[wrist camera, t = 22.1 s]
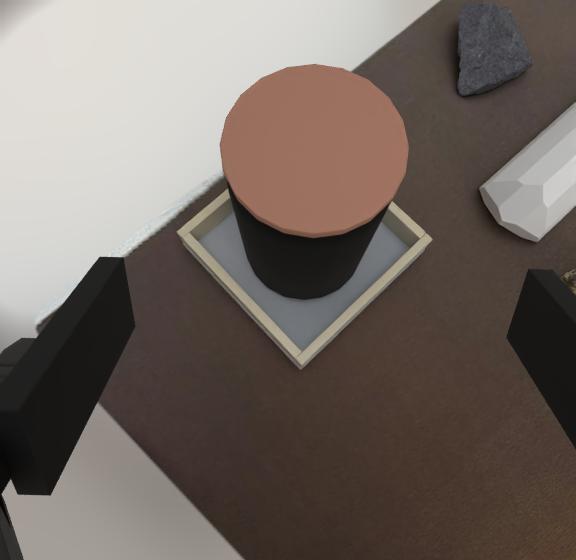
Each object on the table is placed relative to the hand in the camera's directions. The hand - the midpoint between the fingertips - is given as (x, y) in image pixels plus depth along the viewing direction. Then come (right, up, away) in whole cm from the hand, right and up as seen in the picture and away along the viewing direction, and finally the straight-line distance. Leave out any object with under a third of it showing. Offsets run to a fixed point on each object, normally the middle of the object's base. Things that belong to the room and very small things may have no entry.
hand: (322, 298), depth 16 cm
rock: (+19, +24, +35) cm, 46 cm away
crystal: (+27, +13, +32) cm, 44 cm away
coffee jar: (0, +4, +28) cm, 28 cm away
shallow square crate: (0, +3, +29) cm, 29 cm away
